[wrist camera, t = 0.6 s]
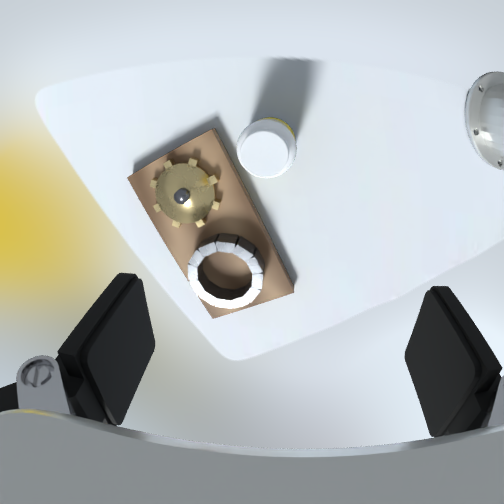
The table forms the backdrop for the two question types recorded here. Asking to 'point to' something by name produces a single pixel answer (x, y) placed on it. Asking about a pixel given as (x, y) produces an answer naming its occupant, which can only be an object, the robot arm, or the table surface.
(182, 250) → the gear board
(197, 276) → the socket ring
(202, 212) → the brass gear
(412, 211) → the table surface
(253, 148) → the supplement bottle
